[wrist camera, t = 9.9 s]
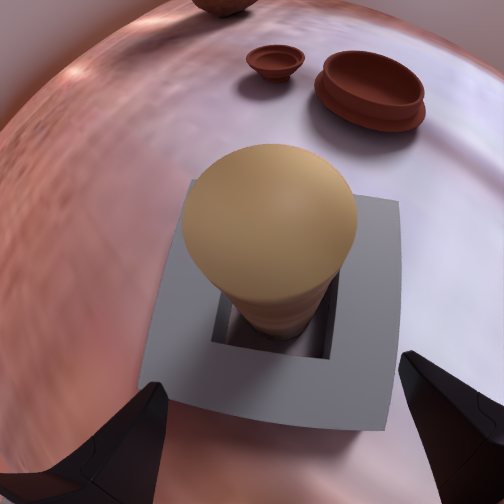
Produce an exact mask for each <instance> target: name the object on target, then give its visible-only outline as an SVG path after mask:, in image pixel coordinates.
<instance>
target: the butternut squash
mask: <svg viewBox="0 0 504 504" xmlns="http://www.w3.org/2000/svg"><path fill="white" fill-rule="evenodd" d="M192 1H193V2H194V4H195V5H196V6H197V7H198V8H200V9H202V10H204V11H206V12H208V13H210V14H212V15H215V16H217V17H220V18H221V17H226V16H229V15H231V14H234V13H238V12H241V11H243V10H244V9H246V8H247V7H249V6H251V5H252V4H254V3H255V2H256V1H258V0H192Z"/></svg>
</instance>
